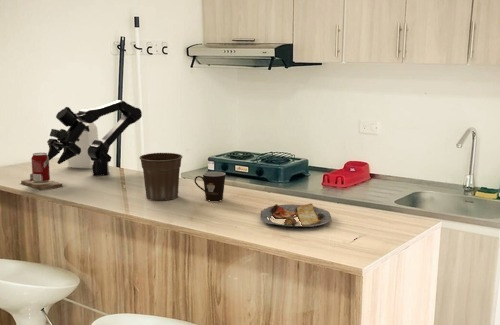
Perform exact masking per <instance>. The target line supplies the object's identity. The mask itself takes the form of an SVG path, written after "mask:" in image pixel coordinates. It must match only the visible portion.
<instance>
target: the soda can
mask: <svg viewBox="0 0 500 325" xmlns="http://www.w3.org/2000/svg"><path fill="white" fill-rule="evenodd" d="M47 155H48V152H34V153H32V157H31V159H30V160H31V174H32V175H33V181H34V182H36V183H45V182H48V181H49V180H51V175H50V173H51V172H50V160H49V157H48V156H47Z"/></svg>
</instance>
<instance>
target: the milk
mask: <svg viewBox="0 0 500 325" xmlns="http://www.w3.org/2000/svg"><path fill="white" fill-rule="evenodd" d="M77 120H78V119H77ZM78 121H79V120H78ZM79 122H80V121H79ZM83 123H84V122H83ZM84 124H85V125H88V126H89V130H90V131H89V132H87V131H83V133H82V134H81V136H80V137H79V138H78V139H80V140H79V142H78V141H76V142H75V144H76V145H77V146H78V147H80V148H81V153H80V154H79V155H76V156H74V157H72V158H70V159H68V160H67V168H71V167H72V168H75V169H77V168H78V169H92V165H93V162H94V161H92V160H91V158H90V156H89V155H88V148H89V147H90V146H89V145H91V144H92V143H93V141H94V140H99V134H98V133H99V131H98V126H97V125H96V124H95V123H94V122H93V123H84ZM69 128H70V126H68V127H67V130H68V129H69Z"/></svg>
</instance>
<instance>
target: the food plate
mask: <svg viewBox="0 0 500 325" xmlns="http://www.w3.org/2000/svg"><path fill="white" fill-rule="evenodd" d="M294 215H296V217H298V219H299V221H300V222H301V225H302V226H301V225H297V224H298V222H296V220H295V219H294V218H293V216H294ZM271 216H273V217H274V218H275V219H286V220H285V222H284V223H277V222H275V221H274V222H272V221H271V220H270V218H271ZM267 217H268V218H269V220H268V219H267ZM260 220H261V221H262V222H264V223H265V224H269V225H270V224H271V225H275V226H280V225H282V226H281V227H285V226H288V227H287V228H310V227H311V228H313V227H314V226H315V227H318V226H320V225H324V224H328V223H330V222H331V221H332V220H333V219H332V215H331V213H330V212H329V211H328V210H326V209H323V208H321V207H317V206H314V204H313V203H312V202H311V203H308V204H293V203H292V204H277V203H276V204H274V205H272V206H268V207H267V208H264V209H262V210H261V211H260ZM296 223H297V224H296Z"/></svg>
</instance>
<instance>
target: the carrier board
mask: <svg viewBox="0 0 500 325" xmlns="http://www.w3.org/2000/svg"><path fill="white" fill-rule="evenodd" d="M20 181H21V184H22V185H26V186H28V187H31V188H34V189H38V190H40V191H46V190H51V189H57V188H61V187H62V188H63V186H64V185H63V183H61V182H58V181H56V180H52V179H50V180H49V181H48V182H45V183H36V182H34V181H33V175H32V173H29V179H23V180H20Z"/></svg>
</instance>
